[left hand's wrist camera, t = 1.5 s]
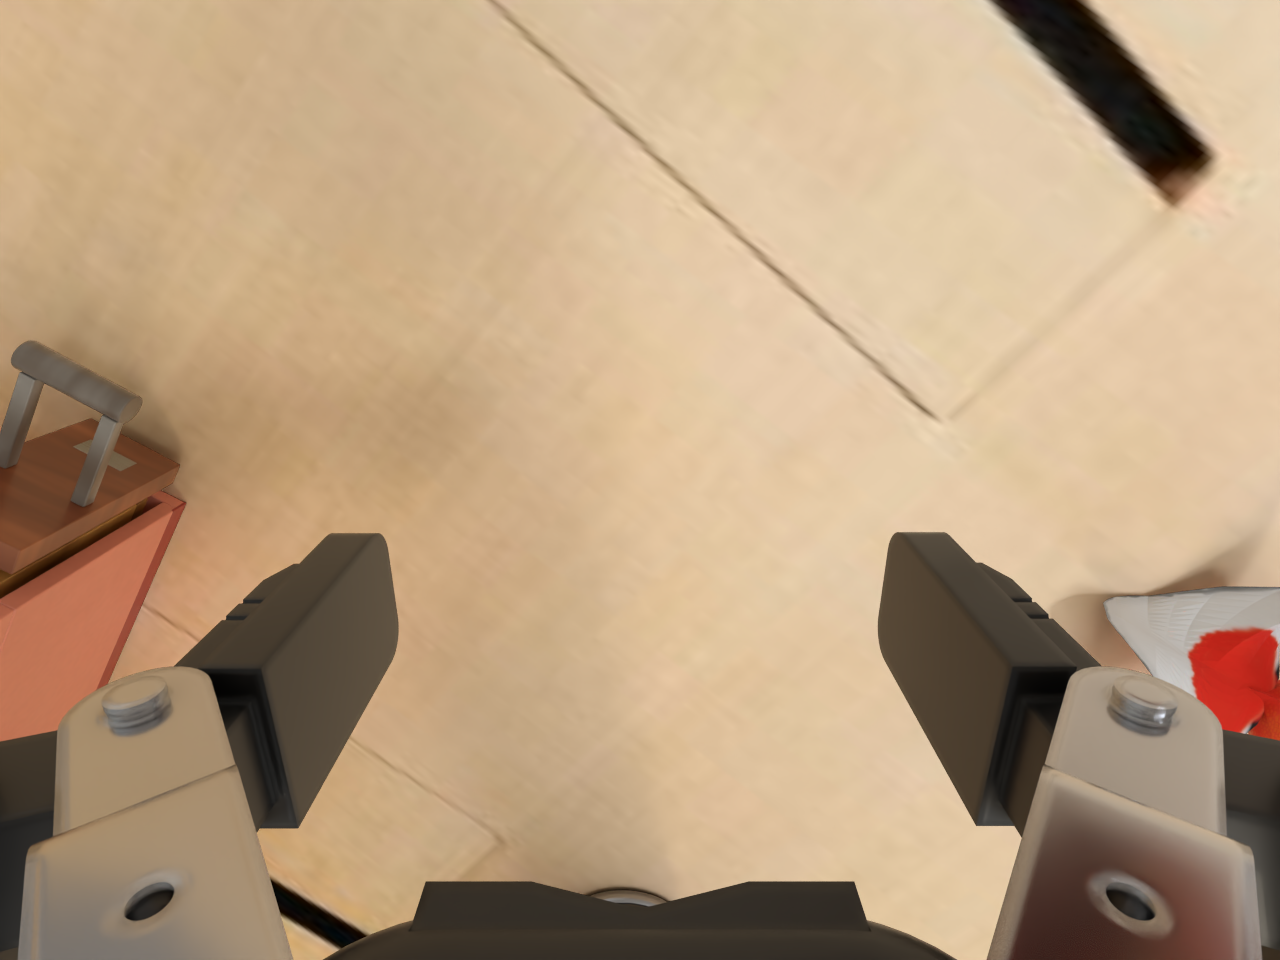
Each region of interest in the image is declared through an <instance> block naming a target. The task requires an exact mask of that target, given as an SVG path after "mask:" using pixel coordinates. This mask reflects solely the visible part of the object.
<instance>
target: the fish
mask: <svg viewBox="0 0 1280 960" xmlns="http://www.w3.org/2000/svg"><path fill="white" fill-rule="evenodd" d="M1103 604H1104V608H1105V611H1106V615H1107V618H1108V620H1109V621H1110V623H1111V624H1112V625H1113V627H1114V628H1115V629H1116V631H1117V632H1118V633H1119V634H1120V635H1121V636H1122V638H1123V639H1124V640H1125V641H1126V642H1127V643H1128V645H1129V646H1130V647H1131V648H1132V650H1133V651H1134V652H1135V654H1136V655H1137V656H1138V657H1139V659H1140V660H1141V661H1142V663H1143V664H1144V665H1145V667H1146V668H1147V669H1148V670H1149V672H1150V673H1151V674H1152V676H1153V677H1156V678H1159V679H1161V680H1164V681H1166V682H1168V683H1171V684H1173V685H1175V686H1177V687H1179V688H1181V689H1183V690H1184V691H1186V692H1188V693H1189V694H1191V695H1192V696H1194V697H1195V698H1197V699H1198V700H1199V701H1201V702H1202V703H1203V704H1205V705H1206V706H1207V707H1208V708H1209V709H1210V710H1211V711H1212V712H1213V713H1214V715H1215V716H1216V717H1217V718H1218V720H1219V722H1220V724H1221V726H1222V729H1224V730H1229V731H1234V732H1239V733H1244V734H1247V733H1248V734H1249V735H1254V736H1259V737H1264V738H1270V739H1275V740H1280V680H1278V679H1279V644H1280V587H1215V588H1207V589H1198V590H1190V591H1182V592H1174V593H1167V594H1159V595H1152V596H1120V597H1113V598H1110V599H1107V600H1106V601H1105V602H1104V603H1103Z"/></svg>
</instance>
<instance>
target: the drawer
mask: <svg viewBox="0 0 1280 960" xmlns="http://www.w3.org/2000/svg"><path fill="white" fill-rule="evenodd" d="M11 364H12V365H13V367H14V368H16V369H18V370H20V371H22V372H20V373H19V376H18V379H17V382H16V385H15V388H14V391H13V395H12V398H11V401H10V404H9V407H8V410H7V413H6V416H5V419H4V423H3V426H2V429H1V432H0V599H1V598H3V597H4V596H6V595H8V594H9V593H11V592H13V591H14V590H16V589H18V588H19V587H21V586H23V585H25V584H26V583H28V582H30V581H31V580H33V579H35V578H36V577H38V576H40V575H41V574H43V573H45V572H46V571H48V570H50V569H51V568H53V567H55V566H56V565H58V564H60V563H62V562H63V561H65V560H67V559H68V558H70V557H72V556H73V555H75V554H77V553H78V552H80V551H82V550H83V549H85V548H87V547H88V546H90V545H92V544H93V543H95V542H97V541H99V540H100V539H102V538H104V537H105V536H107V535H109V534H110V533H112V532H114V531H115V530H117V529H119V528H120V527H122V526H124V525H125V524H127V523H129V522H130V521H132V520H134V519H135V518H137V517H139V516H141V514H142V512H143V510H144V507H145V505H146V502H147V500H148V499H147V497H149V496H151V495H153V494H155V493H156V492H158V491H160V490H162V489H163V488H165V487H167V486H169V485H170V484H172V483H173V481H174V479H175V476H176V474H177V472H178V469H179V467H180V464H178V463H176V462H174V461H172V460H170V459H168V458H166V457H164V456H162V455H161V454H159V453H157V452H155V451H153V450H151V449H149V448H147V447H145V446H143V445H141V444H139V443H138V442H136V441H134V440H132V439H130V438H128V437H126V436H124V435H122V434H120V432H121V429H122V427H123V424H124V423H126V422H128V421H130V420H131V419H132V418H133V417H134V416H135V415H136V414H137V413H138V411H139V410H140V408H141V405H142V398H141V397H140V396H138V395H136V394H134V393H132V392H130V391H128V390H127V389H125V388H123V387H121V386H119V385H117V384H115V383H114V382H112V381H110V380H108V379H106V378H104V377H102V376H100V375H99V374H97V373H95V372H93V371H91V370H89V369H87V368H85V367H84V366H82V365H80V364H78V363H76V362H74V361H72V360H71V359H69V358H67V357H65V356H63V355H61V354H59V353H57V352H56V351H54V350H52V349H50V348H48V347H46V346H44V345H42V344H41V343H39V342H37V341H27V342H25V343H23V344H21V345H20V346H19V347H18V348H17V349H16V350H15V352H14V353H13V355H12V358H11ZM44 383H45V384H47V385H49V386H51V387H52V388H54V389H56V390H58V391H60V392H62V393H64V394H66V395H68V396H70V397H71V398H73V399H75V400H77V401H79V402H81V403H83V404H85V405H87V406H89V407H91V408H92V409H94V410H96V411H98V412H100V413H102V414H104V415H102V417H101V419H100V422H97V421H95V420H93V419H91V418H90V419H88V420H85V421H82V422H79V423H77V424H74V425H71V426H68V427H66V428H63V429H60V430H57V431H55V432H52V433H49V434H46V435H44V436H41V437H38V438H35V439H33V440H30V441H27V442H25V439H26V436H27V433H28V430H29V427H30V424H31V421H32V418H33V415H34V412H35V409H36V406H37V403H38V400H39V397H40V394H41V391H42V388H43V385H44Z"/></svg>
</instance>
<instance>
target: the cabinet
mask: <svg viewBox="0 0 1280 960" xmlns="http://www.w3.org/2000/svg"><path fill="white" fill-rule="evenodd" d="M147 499H148V500H147V502H146V505H145V507H144V510H143V512H142V514H141V516H139V517H137V518H135V519H134V520H132V521H130V522H129V523H127V524H125V525H124V526H122V527H120V528H119V529H117V530H115V531H114V532H112V533H110V534H109V535H107V536H105V537H104V538H102V539H100V540H99V541H97V542H95V543H93V544H92V545H90V546H88V547H87V548H85V549H83V550H82V551H80V552H78V553H77V554H75V555H73V556H72V557H70V558H68V559H67V560H65V561H63V562H62V563H60V564H58V565H56V566H55V567H53V568H51V569H50V570H48V571H46V572H45V573H43V574H41V575H40V576H38V577H36V578H35V579H33V580H31V581H30V582H28V583H26V584H25V585H23V586H21V587H19V588H18V589H16V590H14V591H13V592H11V593H9V594H8V595H6V596H4V597H3V598H1V599H0V741H5V740H11V739H16V738H21V737H26V736H31V735H36V734H41V733H46V732H51V731H56V730H58V726H59V724H60V722H61V720H62V718H63V717H64V716H65V715H66V713H67V712H68V711H69V710H70V709H71V708H72V707H73V706H74V705H75V704H77V703H78V702H79V701H81V700H82V699H83V698H85V697H86V696H88V695H89V694H91V693H92V692H94V691H96V690H97V689H99V688H101V687H103V686H105V685H107V684H108V681H109V679H110V677H111V675H112V672H113V670H114V668H115V665H116V663H117V661H118V659H119V656H120V654H121V652H122V649H123V647H124V645H125V642H126V640H127V638H128V636H129V633H130V631H131V629H132V626H133V624H134V622H135V620H136V617H137V615H138V613H139V610H140V608H141V606H142V604H143V601H144V599H145V597H146V594H147V592H148V590H149V588H150V585H151V583H152V581H153V578H154V576H155V574H156V572H157V569H158V567H159V565H160V562H161V560H162V558H163V556H164V553H165V551H166V549H167V546H168V544H169V542H170V539H171V537H172V535H173V533H174V530H175V528H176V526H177V523H178V521H179V519H180V517H181V514H182V512H183V510H184V507H185V505H186V503H185V502H182V501H180V500H178V499H176V498H174V497H172V496H171V495H169V494H167V493H165V492H163V491H161V490H160V491H158V492H156V493H155V494H153V495H151V496H149V497H147Z"/></svg>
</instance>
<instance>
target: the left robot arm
mask: <svg viewBox="0 0 1280 960" xmlns="http://www.w3.org/2000/svg"><path fill="white" fill-rule="evenodd" d="M878 638H879V644H880V649H881V653H882V655H883V658H884V660H885V662H886V664H887V666H888V667H889V669H890V671H891V673H892V675H893V676H894V678H895V680H896V682H897V684H898V685H899V687H900V689H901V691H902V693H903V694H904V696H905V698H906V700H907V702H908V703H909V705H910V707H911V709H912V711H913V712H914V714H915V716H916V718H917V720H918V721H919V723H920V725H921V727H922V729H923V731H924V732H925V734H926V736H927V738H928V740H929V741H930V743H931V745H932V747H933V749H934V750H935V752H936V754H937V756H938V758H939V759H940V761H941V763H942V765H943V767H944V768H945V770H946V772H947V774H948V776H949V777H950V779H951V781H952V783H953V785H954V787H955V788H956V790H957V792H958V794H959V796H960V797H961V799H962V801H963V803H964V805H965V806H966V808H967V810H968V812H969V814H970V815H971V817H972V819H973V821H974V823H975V824H976V826H1015V827H1016V829H1017V831H1018V832H1019V834H1020V836H1021V837H1022V839H1021V843H1020V846H1019V850H1018V853H1017V857H1016V860H1015V864H1014V867H1013V871H1012V874H1011V877H1010V881H1009V884H1008V888H1007V891H1006V895H1005V898H1004V902H1003V905H1002V908H1001V912H1000V915H999V919H998V922H997V926H996V929H995V933H994V936H993V939H992V943H991V946H990V950H989V953H988V957H987V960H1280V740H1275V739H1270V738H1264V737H1259V736H1254V735H1249V734H1244V733H1239V732H1234V731H1229V730H1224V729H1222V726H1221V724H1220V722H1219V720H1218V718H1217V717H1216V716H1215V715H1214V713H1213V712H1212V711H1211V710H1210V709H1209V708H1208V707H1207V706H1206V705H1205V704H1203V703H1202V702H1201V701H1199V700H1198V699H1197V698H1195V697H1194V696H1192V695H1191V694H1189V693H1188V692H1186V691H1184V690H1183V689H1181V688H1179V687H1177V686H1175V685H1173V684H1171V683H1168V682H1166V681H1164V680H1161V679H1159V678H1156V677H1153V676H1150V675H1148V674H1144V673H1141V672H1137V671H1133V670H1128V669H1123V668H1116V667H1102V666H1101V665H1100V664H1099V663H1098V662H1097V661H1096V660H1095V659H1094V658H1093V657H1092V656H1091V655H1090V654H1089V653H1088V652H1087V651H1086V650H1084V649H1083V648H1082V647H1081V646H1080V645H1079V644H1078V643H1077V642H1076V641H1075V640H1074V639H1073V638H1072V637H1071V636H1070V635H1069V634H1068V633H1067V632H1066V631H1065V630H1064V629H1063V628H1062V627H1061V626H1060V625H1059V624H1058V623H1057V622H1056V621H1055V620H1054V619H1049V617H1048V614H1047V613H1046V612H1045V611H1044V610H1043V609H1042V608H1041V607H1040V606H1039V605H1038V604H1037V603H1036V602H1032V598H1031V597H1030V596H1029V595H1028V594H1027V593H1026V592H1025V591H1024V590H1023V589H1022V588H1021V587H1020V586H1019V585H1017V584H1016V583H1015V582H1014V581H1013V580H1012V579H1011V578H1009V577H1007V576H1005V575H1003V574H1002V573H1000V572H998V571H996V570H994V569H992V568H990V567H989V566H987V565H985V564H983V563H976V562H975V561H974V560H973V559H972V558H971V557H970V556H969V555H968V554H967V553H966V552H965V551H964V550H963V549H962V548H961V547H960V546H959V545H958V544H957V543H956V542H955V541H954V540H953V539H952V538H951V537H950V536H949V535H948V534H947V533H945V532H897V533H895V534H894V535H893V536H892V538H891V540H890V543H889V547H888V553H887V560H886V567H885V574H884V581H883V588H882V596H881V603H880V610H879V617H878ZM397 642H398V616H397V609H396V602H395V595H394V588H393V581H392V574H391V567H390V560H389V553H388V547H387V544H386V541H385V539H384V537H383V536H382V535H381V534H379V533H331V534H329V535H328V536H326V537H325V538H324V539H323V540H322V541H321V542H320V543H319V544H318V545H317V546H316V547H315V548H314V550H313V551H312V552H311V553H310V554H309V555H308V556H307V557H306V558H305V559H304V560H303V561H302V562H301V563H300V564H293V565H291V566H289V567H287V568H285V569H284V570H282V571H280V572H278V573H276V574H274V575H272V576H271V577H269V578H267V579H265V580H263V581H262V582H261V583H260V584H259V585H258V586H257V587H256V588H255V589H254V590H253V591H252V592H251V593H250V594H249V595H248V596H247V597H246V598H245V599H243V604H238V605H237V606H236V607H235V608H234V609H233V610H232V611H231V612H230V613H229V614H228V615H227V616H226V620H222V621H221V622H220V623H219V624H217V625H216V626H215V627H214V628H213V629H212V630H211V631H210V632H209V633H208V634H207V635H206V636H205V637H204V638H203V639H202V640H201V641H200V642H199V643H198V644H197V645H196V646H195V647H194V648H193V649H191V650H190V651H189V652H188V653H187V654H186V655H185V656H184V657H183V658H182V659H181V660H180V661H179V662H178V663H177V664H176V665H175V666H174V667H164V668H157V669H152V670H147V671H143V672H139V673H136V674H132V675H130V676H127V677H124V678H121V679H119V680H116V681H114V682H112V683H109V684H107V685H105V686H103V687H101V688H99V689H97V690H96V691H94V692H92V693H91V694H89V695H88V696H86V697H85V698H83V699H82V700H81V701H79V702H78V703H77V704H75V705H74V706H73V707H72V708H71V709H70V710H69V711H68V712H67V713H66V715H65V716H64V717H63V718H62V720H61V722H60V724H59V726H58V730H56V731H51V732H46V733H41V734H36V735H31V736H26V737H21V738H16V739H11V740H5V741H0V960H293V957H292V953H291V950H290V946H289V943H288V939H287V936H286V933H285V929H284V926H283V922H282V919H281V915H280V912H279V908H278V905H277V902H276V898H275V895H274V891H273V888H272V884H271V881H270V877H269V874H268V871H267V867H266V864H265V860H264V857H263V853H262V850H261V846H260V843H259V839H258V836H257V832H258V830H259V828H299V826H300V824H301V822H302V821H303V819H304V817H305V815H306V814H307V812H308V810H309V808H310V806H311V805H312V803H313V801H314V799H315V797H316V796H317V794H318V792H319V790H320V789H321V787H322V785H323V783H324V781H325V780H326V778H327V776H328V774H329V772H330V771H331V769H332V767H333V765H334V764H335V762H336V760H337V758H338V756H339V755H340V753H341V751H342V749H343V748H344V746H345V744H346V742H347V740H348V739H349V737H350V735H351V733H352V731H353V730H354V728H355V726H356V724H357V723H358V721H359V719H360V717H361V715H362V714H363V712H364V710H365V708H366V706H367V705H368V703H369V701H370V699H371V698H372V696H373V694H374V692H375V690H376V689H377V687H378V685H379V683H380V681H381V680H382V678H383V676H384V674H385V673H386V671H387V669H388V667H389V665H390V664H391V662H392V660H393V657H394V655H395V651H396V647H397ZM323 960H957V959H955V958H953V957H951V956H950V955H948V954H946V953H945V952H943V951H941V950H940V949H938V948H936V947H934V946H932V945H930V944H928V943H926V942H924V941H922V940H920V939H918V938H915V937H913V936H911V935H909V934H907V933H904V932H901V931H899V930H896V929H893V928H890V927H887V926H885V925H882V924H879V923H875V922H871V921H867V920H866V917H865V914H864V911H863V908H862V904H861V901H860V898H859V895H858V892H857V889H856V886H855V883H854V882H745V883H741V884H737V885H733V886H729V887H725V888H721V889H717V890H713V891H709V892H705V893H701V894H697V895H693V896H689V897H685V898H681V899H677V900H673V901H669V902H666V901H665V900H663V899H661V898H659V897H656V896H654V895H650V894H647V893H643V892H638V891H630V890H614V891H606V892H601V893H597V894H594V895H591V896H587V895H583V894H579V893H575V892H571V891H567V890H563V889H559V888H555V887H551V886H547V885H543V884H539V883H535V882H426V883H425V886H424V889H423V892H422V895H421V898H420V901H419V904H418V908H417V911H416V914H415V917H414V920H413V921H409V922H405V923H401V924H398V925H395V926H393V927H390V928H387V929H384V930H381V931H379V932H376V933H373V934H371V935H369V936H367V937H365V938H362V939H360V940H358V941H356V942H354V943H352V944H350V945H348V946H346V947H344V948H342V949H340V950H339V951H337V952H335V953H334V954H332V955H330V956H329V957H327V958H325V959H323Z"/></svg>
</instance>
